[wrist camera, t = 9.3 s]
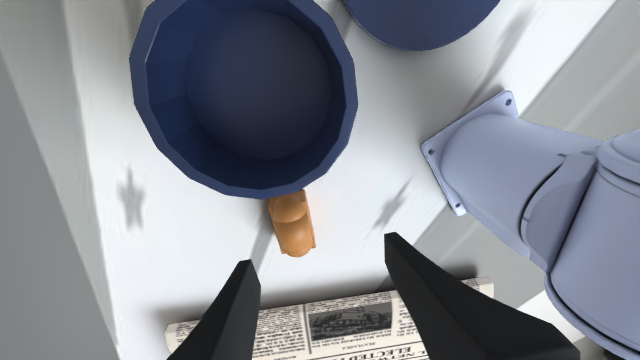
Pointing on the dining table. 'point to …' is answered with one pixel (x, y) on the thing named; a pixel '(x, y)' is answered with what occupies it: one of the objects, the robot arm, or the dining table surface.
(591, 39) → the dining table surface
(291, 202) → the bread roll
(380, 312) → the newspaper
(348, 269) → the dining table surface
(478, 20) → the lid
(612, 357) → the green animal figurine
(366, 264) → the dining table surface
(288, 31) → the pot
